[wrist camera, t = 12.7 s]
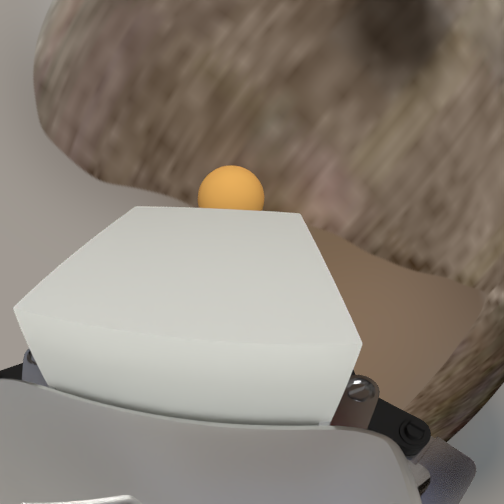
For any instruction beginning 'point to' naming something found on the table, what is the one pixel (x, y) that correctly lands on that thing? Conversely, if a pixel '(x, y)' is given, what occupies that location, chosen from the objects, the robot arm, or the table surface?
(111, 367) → the white angular block
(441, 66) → the table surface
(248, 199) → the ball
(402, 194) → the table surface
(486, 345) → the table surface
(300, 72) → the table surface
